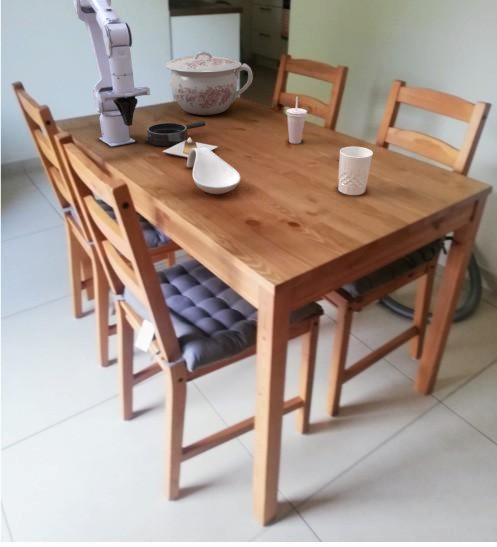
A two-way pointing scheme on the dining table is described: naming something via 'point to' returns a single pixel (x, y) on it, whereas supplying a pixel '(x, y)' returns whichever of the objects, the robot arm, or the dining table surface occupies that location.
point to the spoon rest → (212, 171)
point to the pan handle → (195, 125)
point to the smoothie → (296, 123)
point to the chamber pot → (206, 82)
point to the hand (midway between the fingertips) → (128, 124)
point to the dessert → (186, 148)
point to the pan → (167, 134)
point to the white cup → (354, 170)
